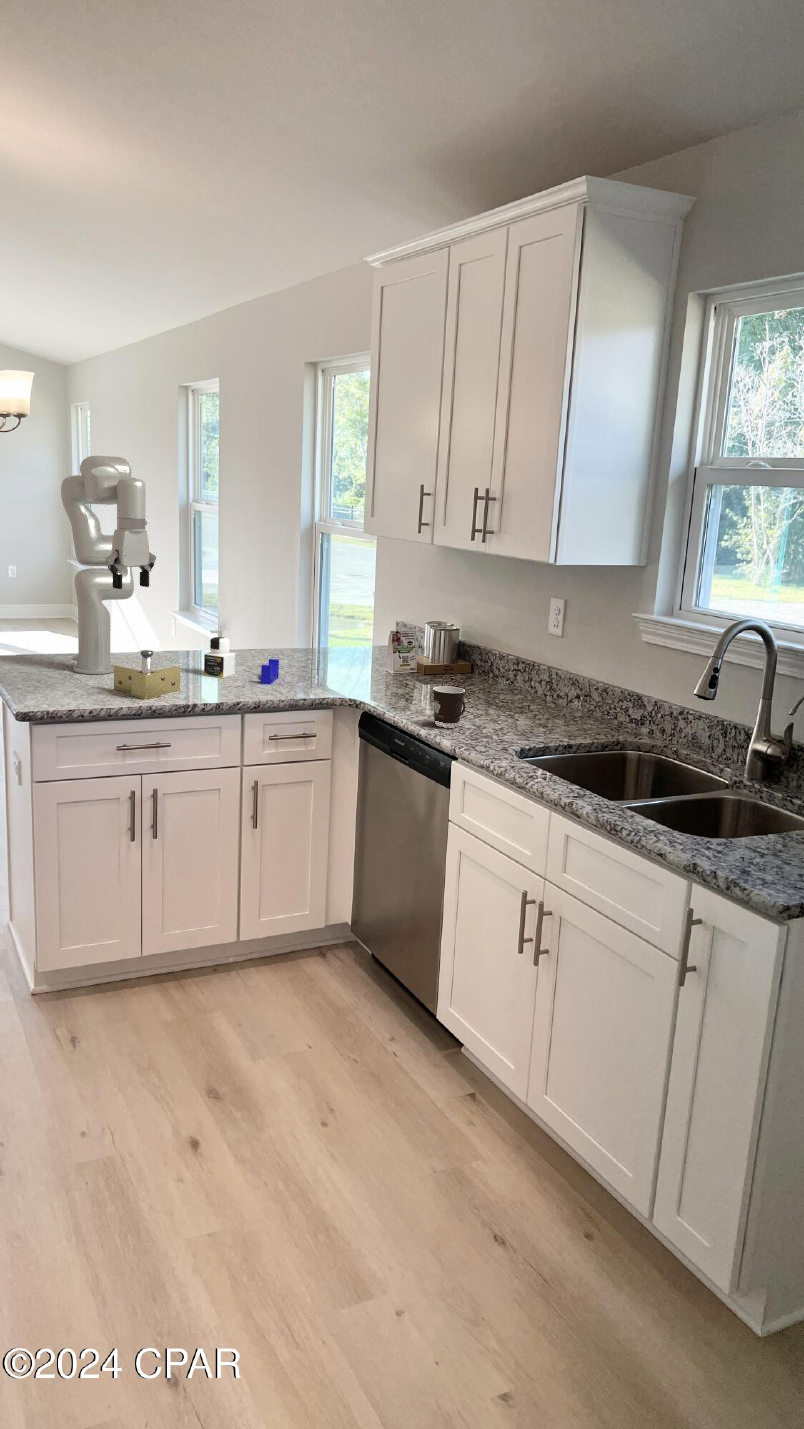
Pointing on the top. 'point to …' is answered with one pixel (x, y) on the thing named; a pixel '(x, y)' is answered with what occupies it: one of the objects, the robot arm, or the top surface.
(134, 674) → the hinge
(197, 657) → the top surface
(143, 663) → the pin
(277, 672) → the cable clip
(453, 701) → the coffee mug
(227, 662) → the medicine bottle
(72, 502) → the robot arm
